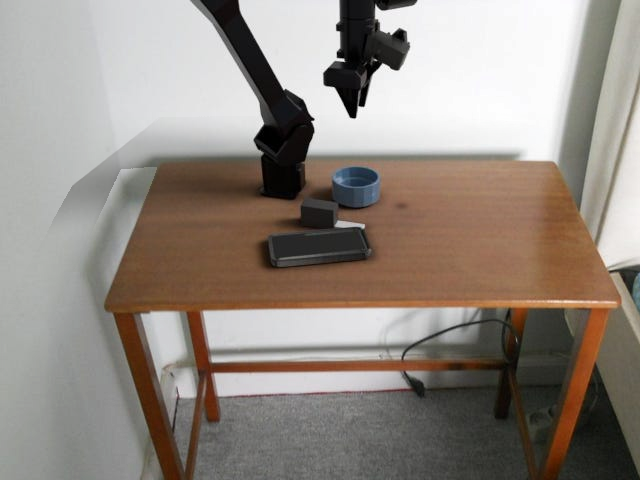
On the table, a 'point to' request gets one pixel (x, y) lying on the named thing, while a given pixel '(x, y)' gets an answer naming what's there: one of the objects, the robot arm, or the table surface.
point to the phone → (318, 246)
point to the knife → (322, 215)
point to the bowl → (356, 186)
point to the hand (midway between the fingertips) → (357, 112)
